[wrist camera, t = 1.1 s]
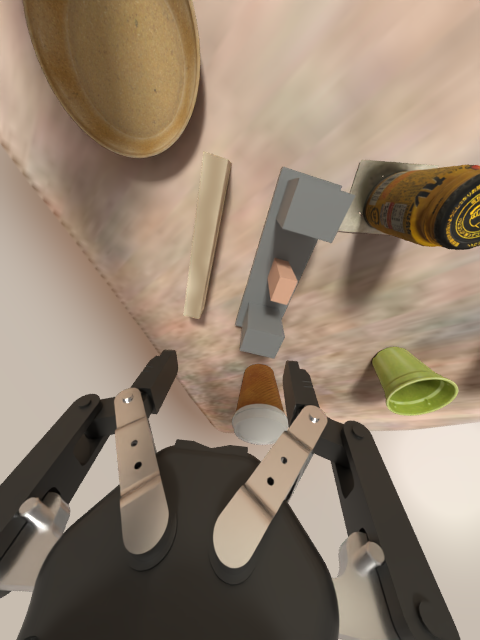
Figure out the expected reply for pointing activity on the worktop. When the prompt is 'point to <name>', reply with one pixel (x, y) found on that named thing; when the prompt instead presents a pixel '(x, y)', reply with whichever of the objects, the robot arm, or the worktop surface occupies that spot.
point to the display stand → (287, 254)
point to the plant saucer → (120, 67)
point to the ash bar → (206, 230)
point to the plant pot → (411, 383)
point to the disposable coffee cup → (259, 408)
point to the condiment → (417, 203)
